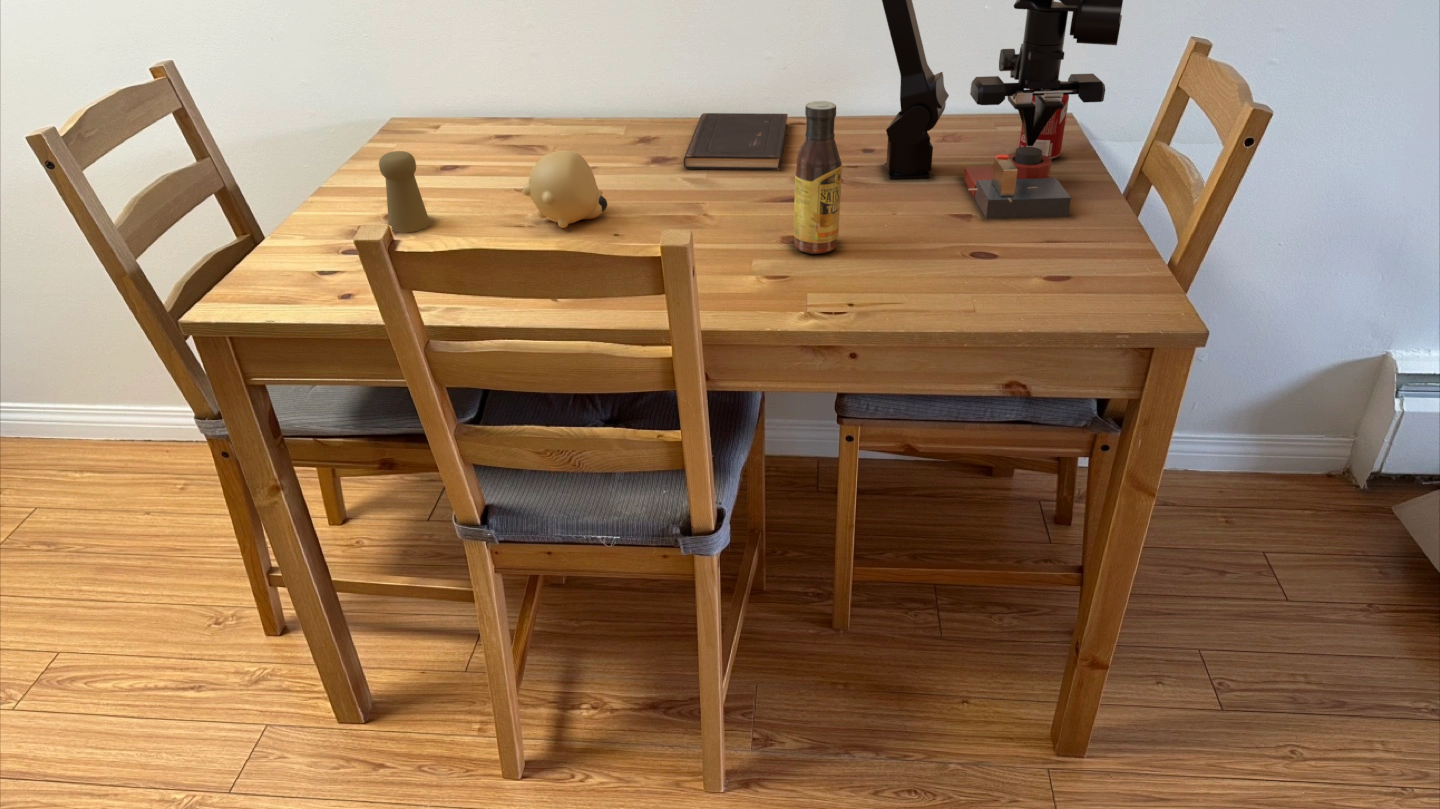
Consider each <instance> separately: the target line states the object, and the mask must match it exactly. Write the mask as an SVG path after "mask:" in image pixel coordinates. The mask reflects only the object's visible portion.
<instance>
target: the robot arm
mask: <svg viewBox="0 0 1440 809" xmlns="http://www.w3.org/2000/svg"><path fill="white" fill-rule="evenodd" d="M881 2H882V7H883V11H884V15H885V19H886V23H887V26H888V31H889V34H890V40H891V42H892V46H893V50H894V54H895V58H896V63H897V66H898V71H899V75H900V88H899V102H900V103H899V104H900V110H899V111H898V112H897V114H896V115H895V117H894V118H893V119H892V121H891V122H890V124H889V125H888V126H887V128H886V130H885V131H886V135H887V146H886V147H887V148H886V161H885V163H883V165H884V166H883V167H884V169H885V172H886V175H887V177H888V179H889V180H913V179H914V180H915V179H919V180H920V179H930V177H931V176H930V175H931V174H930V171H932V166H933V165H932V164H933V153H934V146H933V144H932V142H931V136H930V134H929V131H932V129H933V128H934V127H935V126H936V125H937V123H938V121H939V120H940V119H941V116H942V115H943V113H944V111H945V109H946V105H947V103H946V102H947V100H948V98H949V96H950V95H949V93H948V92H947V90H946V87H945V80H944V72H943V71H940V72H938V73H935V74H934V72H933V71H932V69H931V68H930V66H929V64H928V61H927V57H926V54H925V49H924V45H923V41H922V40H923V39H922V37H921V32H920V28H919V24H918V20H917V15H916V11H915V7H914V3H913V0H881ZM1123 2H1124V0H1058V1H1055V0H1016V1H1015V2H1014V4H1013V8H1014V9H1015V10H1026V17H1025V23H1024V24H1025V26H1024V31H1023V32H1024V33H1023V39H1022V40H1023V41H1022V43H1021V44H1020V47H1019V53H1016V50H1015V48H1002V49H1000V52H999V58H998V71H999V72H1009V74H1010V75H1009V77H1010V78H1011V79H1014V80H1015V81H1017V82H1004V80H1002V79H1001V77H1000V76H999V75H994V76H993V75H992V76H991V75H990V76H989V75H988V76H975V78H974V79H973V80H972V81H971V83H970V92H969V95H970V96H971V98H972V99H973V101H974V102H975V104H976V105H978V106H999V105H1001V104H1002V103H1003V102H1004V101H1005V100H1006V97H1007V101H1008V102H1009V104H1010V105H1011V106H1012V107H1013V108H1014V110H1017V111H1018V114H1019V117H1020V122H1021V127H1022V126H1023V131H1024V136H1025V141H1026V145H1027V146H1033V145H1034V143H1035V142H1036V140H1037V138H1038V137H1039V135H1040V133H1041V132H1042V130H1043V129H1044V127H1045V125H1046V124H1047V122H1048V121H1049V120H1050V119H1051V117H1052V116H1053V115H1054V113H1055V112H1056V111H1057V110H1058V109H1062V108H1064V104H1063V102H1062V98H1063V95H1069V96H1070V95H1077V97H1078V98H1079V99H1080V101H1082V103H1103V102H1104V100H1105V95H1106V84H1105V83H1104V81H1102V80H1101V79H1100V78H1099V77H1098V76H1097V75H1095V74H1094V73H1071V74H1070V75H1069V76H1068V79H1067V81H1066V80H1064V81H1063V80H1061V79H1060V78H1059V77H1060V71H1061V64H1062V60H1063V61H1064V59H1065V51H1064V43H1065V39H1066V38H1065V37H1066V31H1067V30H1066V29H1067V24H1068V17H1069V16H1068V15H1069V13H1070V12H1071V13H1072V15H1071V21H1070V28H1069V36H1071V37H1073V38H1072V39H1073V40H1076V44H1083V45H1084V44H1086V45H1104V46H1117V45H1118V41H1119V35H1120V31H1121V30H1120V29H1121V23H1122V19H1123V18H1122V17H1123V14H1122V9H1123ZM1060 81H1062V82H1060ZM1029 89H1030V90H1029ZM1033 96H1035V105H1034V104H1033V103H1032V97H1033Z"/></svg>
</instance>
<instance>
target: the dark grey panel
mask: <svg viewBox="0 0 1440 809" xmlns="http://www.w3.org/2000/svg"><path fill="white" fill-rule="evenodd" d="M972 190H976V191H975V197H974V200H975V202H976V204H977V205H978V207H979V209H980V211H981V212H982V214H983V216H984V218H985V219H986V220H987V219H988V220H989V219H990V220H991V219H1024V218H1025V219H1026V218H1027V219H1028V218H1030V219H1031V218H1058V217H1059V218H1062V217H1063V218H1064V217H1069V213H1070V206H1071V203H1072V202H1071V201H1072V196H1070V194H1069V192H1067V191H1066V189H1065V188H1064V187H1063V185H1062V184H1061V183H1060V182H1059V180H1058V178H1057V177H1050V178H1042V179H1016V186H1015V193H1014V196H1000V194H999V193H998V191H997V190H996V188H995V186H994V185H993V183H992V180H977V182H976V189H969V188H967V191H968V192H969V191H970V192H971V191H972Z"/></svg>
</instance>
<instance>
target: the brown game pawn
mask: <svg viewBox="0 0 1440 809" xmlns="http://www.w3.org/2000/svg"><path fill="white" fill-rule="evenodd" d="M378 168H379V172H380V173H381V174H380V175H381V176H383V178H385V193H386V205H387V207H386V208H387V222H388V226H389V225H390V226H392V229H393V231H392V232H393V233H399V234H408V233H415V232H418V231H422V230H424V229H426V228H427V227H428V226H430V224H431V222H430V219H429V218H430V217H429V216H428V212H427V210H426V206H425V203H424V201H423V197H422V194H421V191H420V188H419V185H418V182H417V179H416V176H415V173H416V171H417V162H416V159H415V157H414V156H413V154H412V153H410V152H408V151H405V150H396V151H389V152H386V153H384V154H383V155H381V157H380V158H379V161H378Z"/></svg>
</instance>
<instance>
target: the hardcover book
mask: <svg viewBox="0 0 1440 809" xmlns="http://www.w3.org/2000/svg"><path fill="white" fill-rule="evenodd" d="M788 116H789V115H788V113H756V112H755V113H753V112H752V113H749V112H747V113H746V112H744V113H743V112H742V113H740V112H739V113H733V112H731V113H730V112H725V113H724V112H714V113H713V112H707V113H706V112H704V113H701V115H700V117H699V119H698V121H697V124H696V126H695V129H694V131H693V134H692V136H691V140H690V141H689V144H688V147H687V149H686V152H685V155H684V157H683V162H682V163H683V167H684V168H685V169H686V170H716V171H717V170H719V171H721V170H724V171H725V170H726V171H781V167H782V160H783V156H784V150H785V142H786V136H787V131H788V123H787V121H788Z"/></svg>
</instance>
